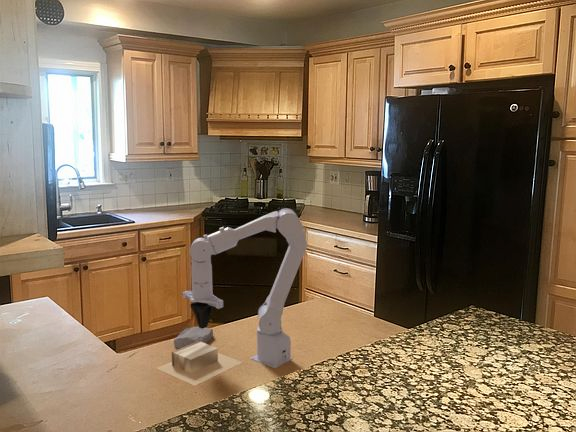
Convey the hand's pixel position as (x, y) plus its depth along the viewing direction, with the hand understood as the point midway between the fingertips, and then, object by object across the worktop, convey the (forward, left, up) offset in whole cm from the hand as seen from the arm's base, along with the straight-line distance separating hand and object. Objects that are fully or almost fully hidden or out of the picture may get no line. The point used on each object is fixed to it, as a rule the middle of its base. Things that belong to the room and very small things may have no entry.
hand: (203, 327), depth 152 cm
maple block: (-4, +3, -8) cm, 9 cm away
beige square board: (-2, +3, -10) cm, 11 cm away
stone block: (+13, -7, -11) cm, 18 cm away
